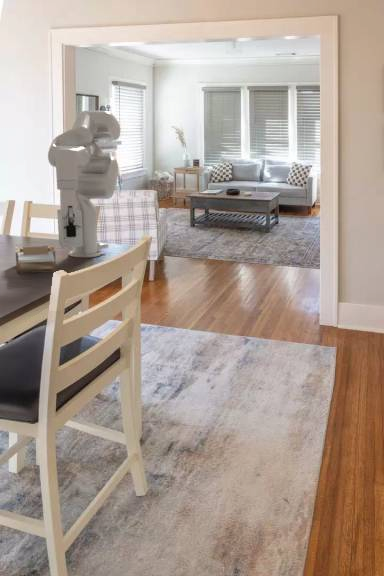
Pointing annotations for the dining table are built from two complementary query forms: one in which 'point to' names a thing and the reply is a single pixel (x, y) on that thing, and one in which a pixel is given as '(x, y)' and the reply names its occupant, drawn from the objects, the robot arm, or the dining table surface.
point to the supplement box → (63, 238)
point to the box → (35, 264)
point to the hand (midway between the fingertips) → (70, 234)
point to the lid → (35, 254)
